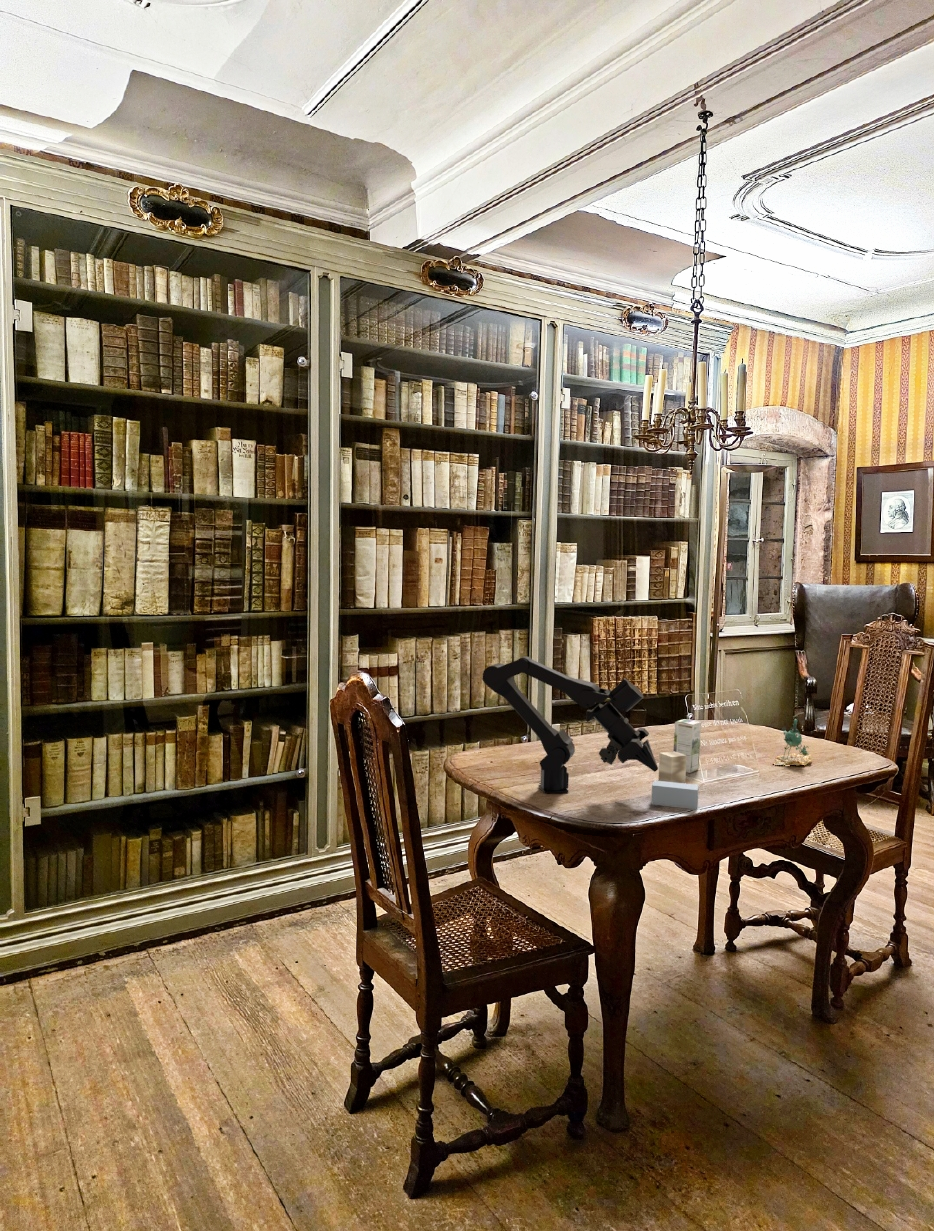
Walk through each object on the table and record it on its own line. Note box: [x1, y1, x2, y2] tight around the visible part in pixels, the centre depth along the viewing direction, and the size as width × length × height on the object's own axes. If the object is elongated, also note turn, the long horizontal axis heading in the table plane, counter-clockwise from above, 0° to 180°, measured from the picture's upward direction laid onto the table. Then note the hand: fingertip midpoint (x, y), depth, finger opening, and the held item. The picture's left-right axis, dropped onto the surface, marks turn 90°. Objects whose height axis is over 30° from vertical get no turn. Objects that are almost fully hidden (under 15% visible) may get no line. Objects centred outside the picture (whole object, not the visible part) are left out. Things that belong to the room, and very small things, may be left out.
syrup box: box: [673, 718, 702, 774], centre depth 236 cm, size 6×6×14 cm
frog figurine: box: [773, 718, 812, 766], centre depth 247 cm, size 10×18×15 cm, turn 116°
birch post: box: [657, 750, 687, 784], centre depth 219 cm, size 5×5×9 cm
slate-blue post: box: [650, 779, 700, 810], centre depth 203 cm, size 5×5×11 cm
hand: (656, 770), depth 205 cm, fingers closed
